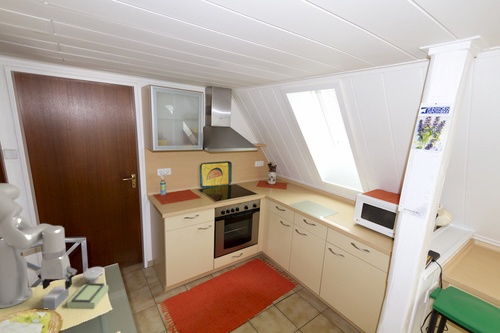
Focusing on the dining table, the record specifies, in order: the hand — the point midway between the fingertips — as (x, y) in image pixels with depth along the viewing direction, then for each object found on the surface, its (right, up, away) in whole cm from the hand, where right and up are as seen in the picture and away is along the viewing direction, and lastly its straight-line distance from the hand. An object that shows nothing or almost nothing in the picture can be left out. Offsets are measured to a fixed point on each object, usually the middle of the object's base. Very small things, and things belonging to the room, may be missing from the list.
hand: (57, 287), depth 104 cm
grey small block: (-2, -8, +1) cm, 8 cm away
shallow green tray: (+11, -9, +5) cm, 15 cm away
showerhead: (+5, -7, +17) cm, 19 cm away
